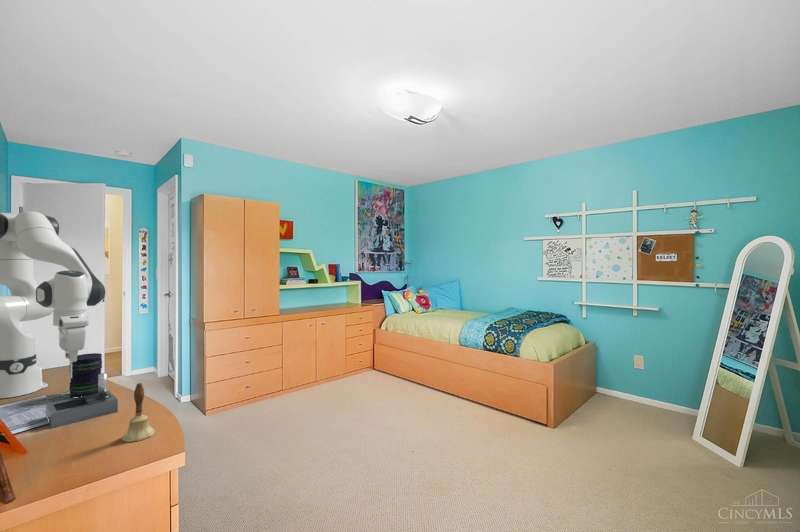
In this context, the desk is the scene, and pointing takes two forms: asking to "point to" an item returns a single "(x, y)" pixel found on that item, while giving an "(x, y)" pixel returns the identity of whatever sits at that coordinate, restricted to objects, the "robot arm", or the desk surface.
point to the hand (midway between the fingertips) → (71, 359)
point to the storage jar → (85, 375)
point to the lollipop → (62, 346)
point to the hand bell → (138, 420)
